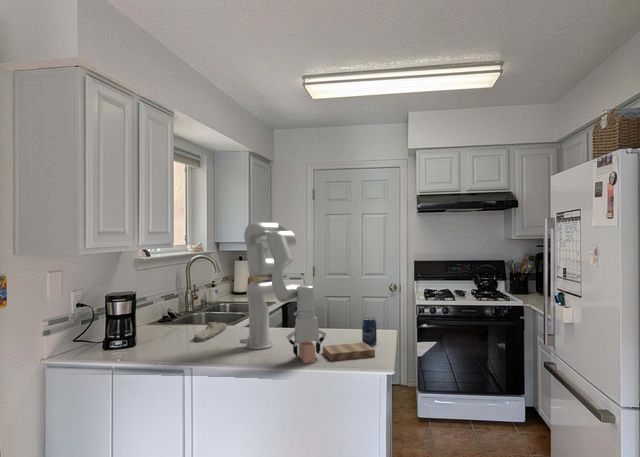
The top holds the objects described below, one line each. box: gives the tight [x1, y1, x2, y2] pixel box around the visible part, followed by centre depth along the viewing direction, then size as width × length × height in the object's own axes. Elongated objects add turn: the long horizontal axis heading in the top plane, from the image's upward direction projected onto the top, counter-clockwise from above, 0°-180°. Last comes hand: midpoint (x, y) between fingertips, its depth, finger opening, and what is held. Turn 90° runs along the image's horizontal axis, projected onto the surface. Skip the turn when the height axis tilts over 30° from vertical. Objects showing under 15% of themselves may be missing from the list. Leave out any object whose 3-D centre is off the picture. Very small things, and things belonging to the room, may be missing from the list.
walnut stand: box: [322, 342, 376, 362], centre depth 193 cm, size 20×13×3 cm, turn 105°
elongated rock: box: [193, 321, 228, 343], centre depth 237 cm, size 35×5×10 cm
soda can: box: [361, 317, 378, 346], centre depth 211 cm, size 7×7×12 cm
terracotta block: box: [298, 341, 316, 364], centre depth 188 cm, size 4×12×7 cm, turn 15°
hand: (306, 353), depth 188 cm, fingers open, 9 cm apart
